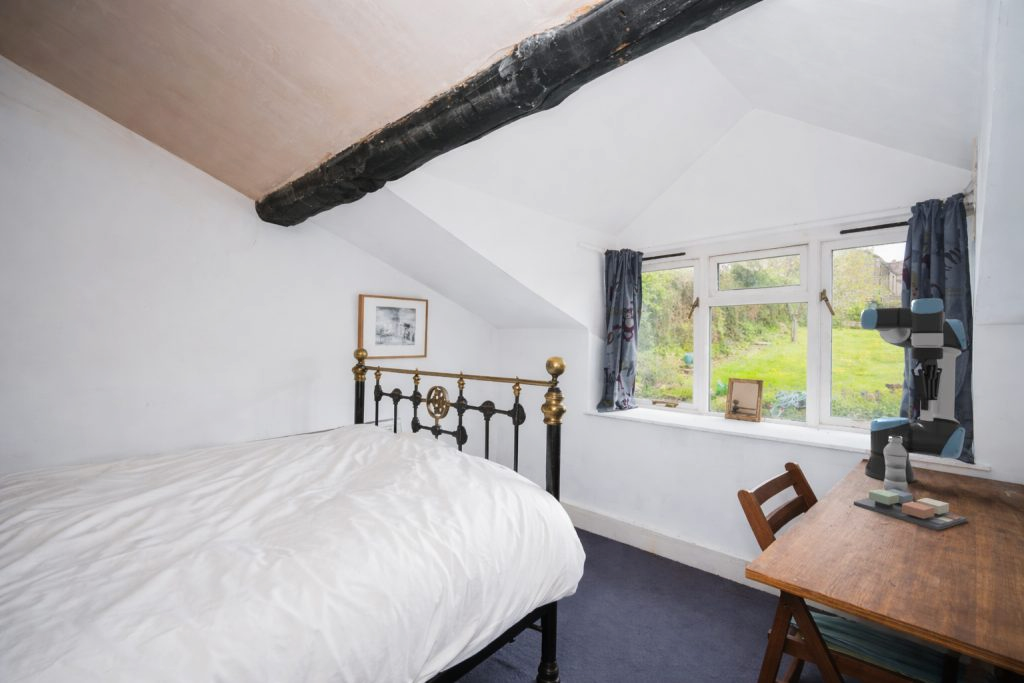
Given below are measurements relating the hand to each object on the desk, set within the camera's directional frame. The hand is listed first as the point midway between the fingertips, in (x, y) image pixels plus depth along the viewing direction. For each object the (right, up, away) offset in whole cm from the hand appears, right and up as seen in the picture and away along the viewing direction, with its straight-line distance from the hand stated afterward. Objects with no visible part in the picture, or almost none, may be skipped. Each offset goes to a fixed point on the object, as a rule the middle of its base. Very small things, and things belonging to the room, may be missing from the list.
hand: (926, 420), depth 145 cm
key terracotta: (-11, -27, -9) cm, 30 cm away
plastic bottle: (+2, -29, +14) cm, 32 cm away
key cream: (-3, -27, -6) cm, 28 cm away
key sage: (-14, -26, 0) cm, 29 cm away
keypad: (-9, -29, -3) cm, 30 cm away
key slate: (-7, -27, +3) cm, 28 cm away
